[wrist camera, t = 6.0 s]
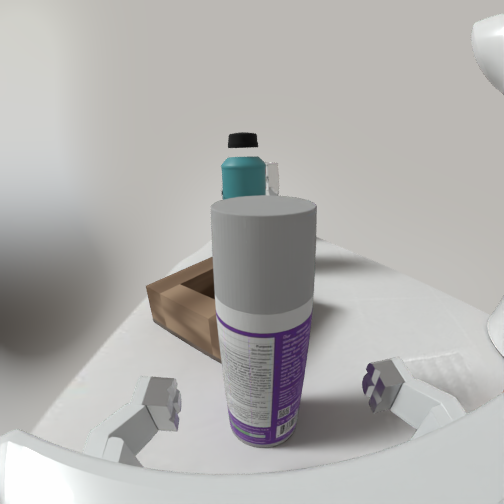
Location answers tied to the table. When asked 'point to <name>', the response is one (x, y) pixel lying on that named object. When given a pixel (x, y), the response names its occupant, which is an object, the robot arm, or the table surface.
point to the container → (263, 309)
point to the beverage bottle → (243, 170)
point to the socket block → (188, 307)
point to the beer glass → (272, 179)
